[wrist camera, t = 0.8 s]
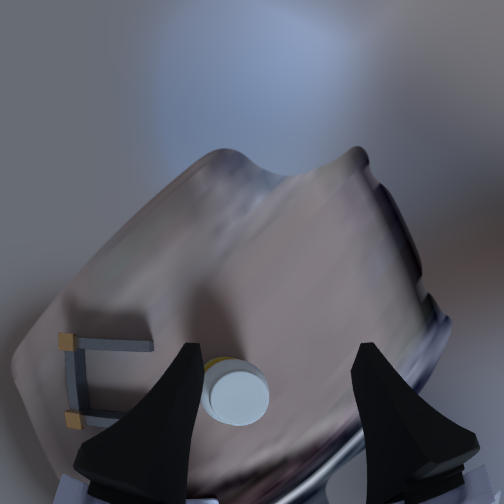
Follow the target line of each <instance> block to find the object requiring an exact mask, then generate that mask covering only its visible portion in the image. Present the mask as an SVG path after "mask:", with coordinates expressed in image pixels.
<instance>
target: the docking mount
mask: <svg viewBox="0 0 504 504" xmlns="http://www.w3.org/2000/svg"><path fill="white" fill-rule="evenodd" d="M58 345H59V350H65V364H66V378H67V388H68V397H69V405H70V410H67V411H65V419H66V425H67V427H68V428H74V429H80V430H82V429H83V428H84V425H89V426H96V427H104V428H108V427H110V426H111V425H113V424H114V423H115V422H117V421H118V420H119V419H121V418H122V417H123V416H124V415H126V414H127V413H128V412H117V411H106V410H97V409H90V406H89V398H88V389H87V378H86V364H85V349H94V350H110V351H132V352H152V351H154V341H136V340H109V339H92V338H78V337H76V334H70V333H59V332H58Z"/></svg>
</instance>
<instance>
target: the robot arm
mask: <svg viewBox="0 0 504 504" xmlns="http://www.w3.org/2000/svg"><path fill="white" fill-rule="evenodd" d="M204 375H205V370H204V365H203V360H202V354H201V349H200V344H199V343H185V344H184V345H183V347H182V348H181V350H180V351H179V353H178V355H177V356H176V358H175V359H174V360H173V362H172V363H171V365H170V366H169V367H168V369H167V370H166V371H165V373H164V374H163V375H162V377H161V378H160V379H159V381H158V382H157V383H156V384H155V385H154V387H153V388H152V389H151V390H150V391H149V392H148V393H147V395H146V396H145V397H144V398H143V399H142V400H141V401H140V402H139V403H138V404H137V405H136V406H135V407H134V408H132V409H131V410H130V411H129V412H128V413H127V414H126V415H124V416H123V417H122V418H121V419H119V420H118V421H117V422H115V423H114V424H113V425H111V426H110V427H108V428H107V429H106V430H104V431H103V432H101V433H99V434H98V435H96V436H94V437H92V438H91V439H89V440H87V441H85V442H83V443H82V445H81V447H80V449H79V451H78V453H77V456H76V459H75V462H74V464H73V467H74V469H75V470H76V471H77V472H79V473H80V474H81V475H83V476H84V477H86V478H87V479H89V480H90V481H91V482H90V485H88V484H86V483H84V482H81V481H79V480H77V479H74V478H72V477H70V476H68V475H66V474H62V477H61V480H60V483H59V486H58V489H57V492H56V495H55V498H54V501H53V504H219V502H218V500H217V499H215V498H207V499H186V488H187V473H188V462H189V452H190V444H191V437H192V432H193V428H194V423H195V419H196V415H197V412H198V408H199V404H200V399H201V395H202V391H203V384H204ZM351 378H352V385H353V391H354V395H355V399H356V403H357V407H358V411H359V415H360V419H361V423H362V427H363V431H364V437H365V446H366V457H367V500H366V504H493V503H494V502H495V499H494V495H493V491H492V487H491V484H490V480H489V477H488V473H487V470H486V467H485V465H482V466H480V467H478V468H476V469H474V470H472V471H470V472H468V473H466V474H465V475H462V471H463V470H464V465H463V463H465V462H466V461H467V460H469V459H470V458H472V457H473V456H474V455H475V454H476V453H478V451H479V450H480V446H479V443H478V440H477V437H476V435H475V433H473V432H471V431H469V430H467V429H465V428H463V427H461V426H459V425H457V424H456V423H454V422H452V421H451V420H449V419H448V418H446V417H445V416H443V415H442V414H441V413H439V412H438V411H436V410H435V409H434V408H433V407H431V406H430V405H429V404H428V403H427V402H425V401H424V400H423V399H422V398H421V397H420V396H419V395H418V394H417V393H416V392H415V391H414V390H413V389H412V388H411V387H410V386H409V385H408V384H407V383H406V382H405V381H404V380H403V378H402V377H401V376H400V375H399V374H398V373H397V371H396V370H395V369H394V368H393V367H392V365H391V364H390V363H389V362H388V360H387V359H386V358H385V357H384V355H383V354H382V353H381V352H380V350H379V349H378V348H377V347H376V345H375V344H374V343H373V342H370V343H361V344H360V347H359V350H358V353H357V355H356V358H355V361H354V364H353V366H352V369H351Z"/></svg>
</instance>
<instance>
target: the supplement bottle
mask: <svg viewBox="0 0 504 504" xmlns="http://www.w3.org/2000/svg"><path fill="white" fill-rule="evenodd" d="M204 370H205V375H204V384H203V391H202V395H201V399H200V401H201V404H202V406H203V407H204V409H205V410H206V412H207V413H208V414H209V415H210V416H211V417H213V418H214V419H216V420H218V421H220V422H223V423H227V424H231V425H236V426H243V425H248V424H251V423H253V422H255V421H256V420H258V419H259V418H260V417H261V416H262V415H263V414H264V412H265V411H266V409H267V407H268V403H269V389H268V384H267V381H266V378H265V376H264V375H263V373H262V372H261V371H260V370H259V369H258V368H257V367H256V366H254V365H253V364H251V363H249V362H247V361H244V360H240V359H237V358H233V357H228V356H220V357H216V358H213V359H211V360H209V361H208V362H207V363H206V364H205V365H204Z"/></svg>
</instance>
